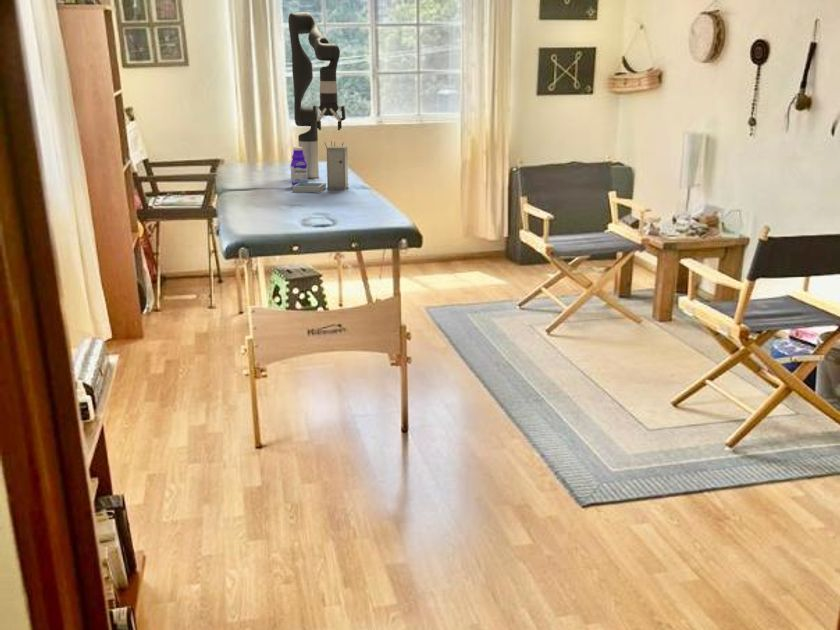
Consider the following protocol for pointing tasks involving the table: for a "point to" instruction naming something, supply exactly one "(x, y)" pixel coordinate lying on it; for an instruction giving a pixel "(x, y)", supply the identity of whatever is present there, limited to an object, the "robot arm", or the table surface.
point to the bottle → (298, 167)
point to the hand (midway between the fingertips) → (329, 130)
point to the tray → (309, 187)
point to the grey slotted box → (337, 167)
